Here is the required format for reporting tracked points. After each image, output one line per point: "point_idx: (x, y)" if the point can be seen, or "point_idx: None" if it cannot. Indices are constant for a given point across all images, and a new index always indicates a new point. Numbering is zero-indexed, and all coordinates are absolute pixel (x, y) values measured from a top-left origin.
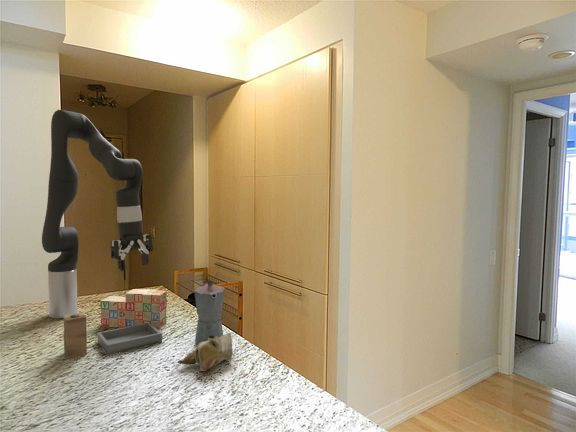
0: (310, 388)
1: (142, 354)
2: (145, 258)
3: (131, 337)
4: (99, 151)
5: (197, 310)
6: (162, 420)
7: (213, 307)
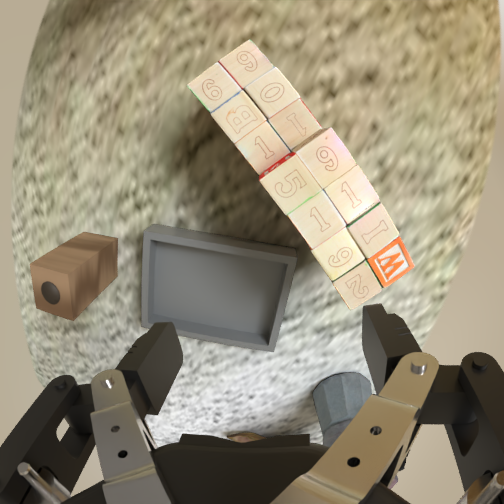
0: None
1: (208, 357)
2: (373, 382)
3: (225, 276)
4: None
5: None
6: None
7: None
